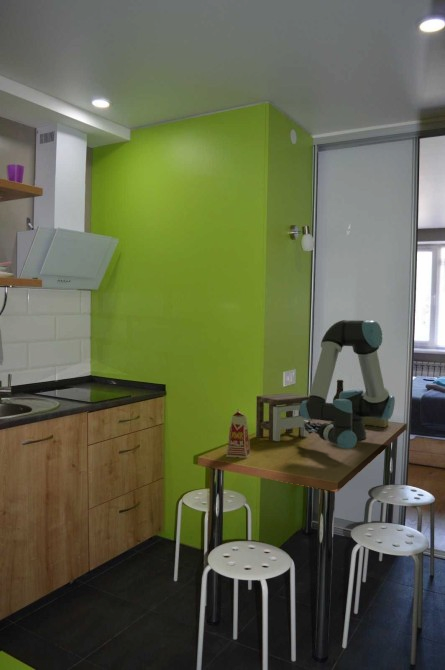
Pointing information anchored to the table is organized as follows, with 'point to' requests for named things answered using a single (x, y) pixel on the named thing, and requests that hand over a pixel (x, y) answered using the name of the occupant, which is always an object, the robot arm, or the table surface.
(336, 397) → the beer bottle
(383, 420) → the cheese
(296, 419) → the gate leg
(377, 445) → the table surface
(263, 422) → the stool
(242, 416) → the milk carton
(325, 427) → the robot arm
